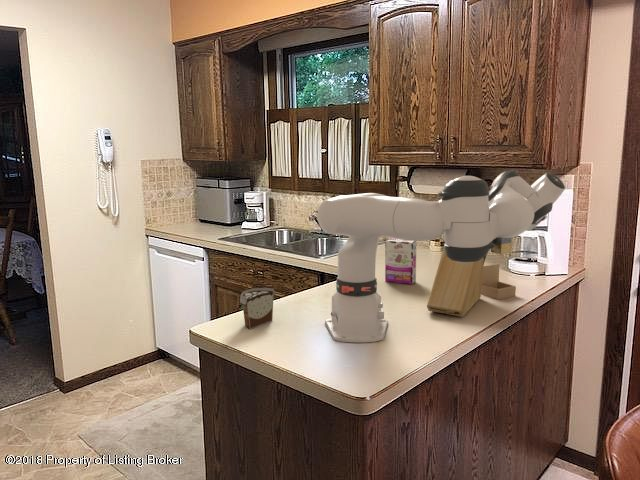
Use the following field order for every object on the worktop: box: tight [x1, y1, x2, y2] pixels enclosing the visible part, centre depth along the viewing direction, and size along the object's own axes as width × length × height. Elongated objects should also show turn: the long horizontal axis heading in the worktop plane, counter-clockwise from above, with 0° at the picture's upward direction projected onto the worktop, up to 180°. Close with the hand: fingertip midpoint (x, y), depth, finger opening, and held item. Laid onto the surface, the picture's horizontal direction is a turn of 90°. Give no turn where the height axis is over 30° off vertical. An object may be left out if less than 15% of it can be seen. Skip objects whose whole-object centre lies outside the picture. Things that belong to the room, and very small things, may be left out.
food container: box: [239, 287, 276, 330], centre depth 160 cm, size 12×6×10 cm, turn 141°
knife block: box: [426, 247, 487, 317], centre depth 176 cm, size 11×35×31 cm, turn 150°
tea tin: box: [490, 237, 513, 255], centre depth 183 cm, size 5×5×10 cm
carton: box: [481, 263, 517, 300], centre depth 186 cm, size 8×8×10 cm
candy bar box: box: [384, 238, 417, 286], centre depth 204 cm, size 11×5×16 cm, turn 62°
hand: (500, 236), depth 184 cm, fingers closed on tea tin, 5 cm apart
